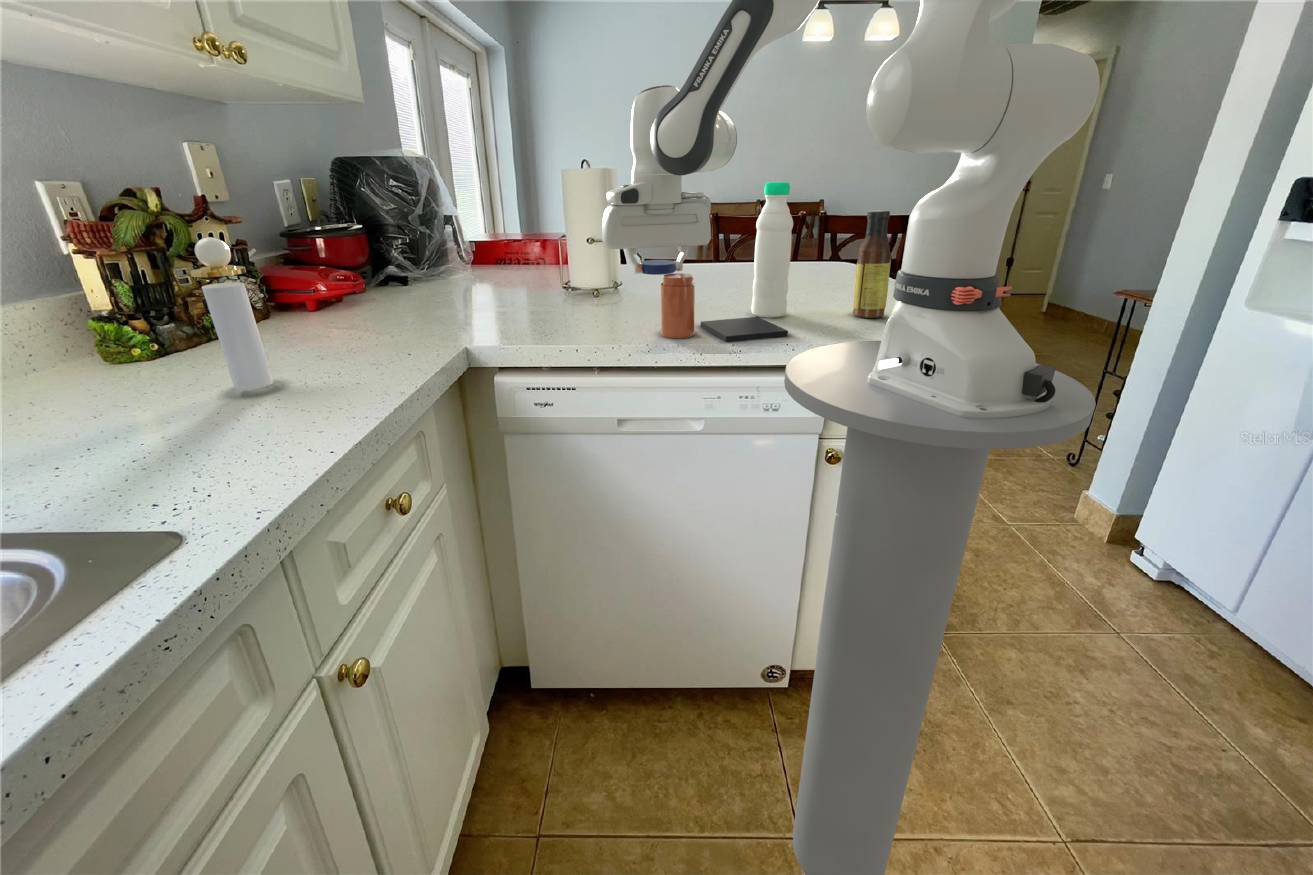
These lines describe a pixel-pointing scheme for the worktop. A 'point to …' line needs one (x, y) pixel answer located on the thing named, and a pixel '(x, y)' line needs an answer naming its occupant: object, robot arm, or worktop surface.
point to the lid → (658, 267)
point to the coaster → (743, 329)
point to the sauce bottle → (873, 268)
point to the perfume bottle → (232, 317)
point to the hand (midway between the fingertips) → (657, 272)
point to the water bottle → (772, 252)
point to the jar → (677, 305)
